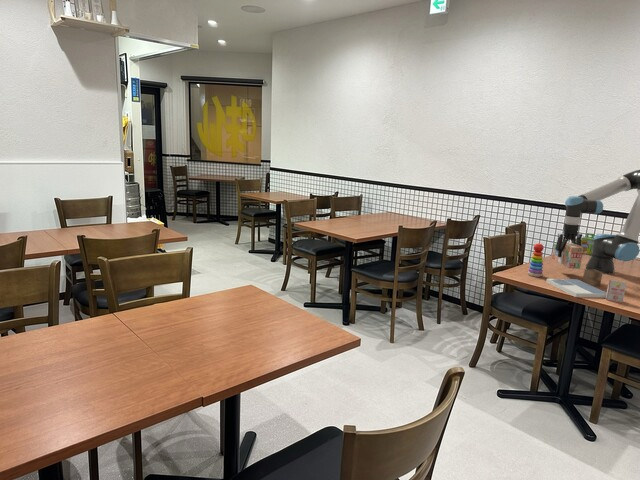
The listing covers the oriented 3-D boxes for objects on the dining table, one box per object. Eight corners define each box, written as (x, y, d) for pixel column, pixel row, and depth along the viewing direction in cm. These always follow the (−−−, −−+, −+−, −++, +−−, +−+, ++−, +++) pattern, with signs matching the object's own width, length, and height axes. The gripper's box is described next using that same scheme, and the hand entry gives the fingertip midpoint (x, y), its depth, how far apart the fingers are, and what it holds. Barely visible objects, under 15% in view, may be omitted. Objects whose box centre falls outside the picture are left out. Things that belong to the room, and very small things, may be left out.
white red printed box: (605, 298, 221) (609, 278, 219) (621, 300, 218) (625, 281, 216) (606, 300, 218) (610, 280, 216) (622, 303, 215) (626, 283, 213)
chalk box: (578, 253, 323) (582, 233, 320) (580, 251, 330) (583, 231, 327) (593, 255, 317) (597, 235, 314) (594, 253, 325) (598, 233, 321)
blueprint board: (576, 282, 245) (577, 278, 245) (608, 297, 222) (609, 293, 222) (546, 282, 243) (546, 278, 243) (575, 297, 220) (576, 292, 219)
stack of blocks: (551, 258, 269) (554, 238, 266) (562, 259, 268) (565, 239, 266) (568, 268, 248) (572, 246, 245) (580, 268, 248) (583, 247, 245)
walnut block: (592, 283, 247) (594, 269, 245) (599, 286, 241) (602, 272, 239) (582, 283, 246) (584, 269, 244) (589, 286, 240) (592, 272, 238)
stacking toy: (541, 274, 258) (546, 243, 254) (543, 278, 251) (548, 245, 247) (526, 272, 261) (531, 241, 257) (528, 276, 253) (533, 244, 249)
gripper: (583, 222, 257) (577, 260, 262) (551, 222, 255) (546, 261, 260) (592, 224, 250) (586, 264, 255) (559, 224, 248) (554, 264, 253)
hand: (566, 262), depth 258 cm, fingers closed on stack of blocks, 7 cm apart
